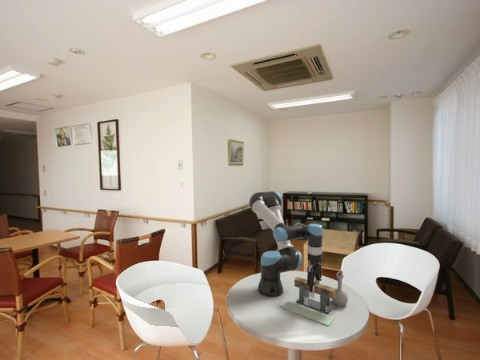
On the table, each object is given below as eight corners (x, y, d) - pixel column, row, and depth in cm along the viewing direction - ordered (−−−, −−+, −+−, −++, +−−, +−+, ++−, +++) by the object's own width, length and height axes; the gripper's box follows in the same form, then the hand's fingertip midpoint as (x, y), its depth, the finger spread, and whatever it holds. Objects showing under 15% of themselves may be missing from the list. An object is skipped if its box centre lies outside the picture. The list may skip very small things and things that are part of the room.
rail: (294, 286, 144) (294, 279, 144) (297, 283, 147) (297, 276, 147) (333, 299, 130) (333, 291, 130) (336, 296, 133) (336, 288, 133)
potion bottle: (349, 307, 136) (350, 275, 135) (332, 306, 138) (332, 273, 137) (346, 299, 145) (347, 268, 144) (329, 297, 146) (330, 267, 145)
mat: (281, 306, 137) (281, 306, 137) (288, 300, 143) (288, 299, 143) (328, 326, 121) (328, 325, 121) (334, 318, 127) (334, 317, 127)
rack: (296, 302, 142) (296, 283, 141) (301, 297, 147) (302, 279, 147) (328, 314, 130) (328, 294, 130) (332, 308, 136) (333, 289, 135)
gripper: (313, 260, 127) (313, 304, 129) (328, 249, 142) (327, 290, 144) (300, 256, 132) (299, 299, 134) (315, 247, 147) (315, 285, 148)
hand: (314, 294), depth 139 cm, fingers open, 6 cm apart
